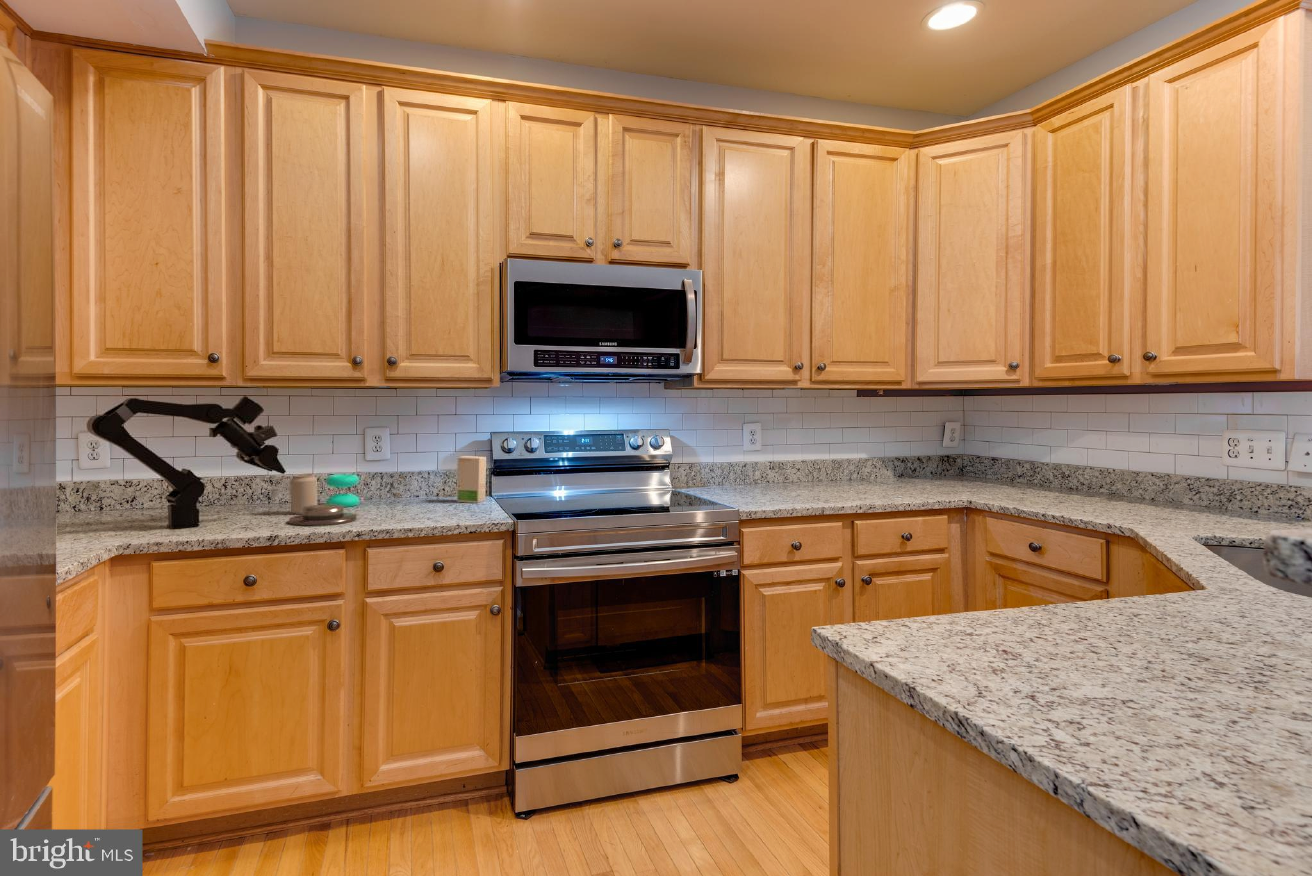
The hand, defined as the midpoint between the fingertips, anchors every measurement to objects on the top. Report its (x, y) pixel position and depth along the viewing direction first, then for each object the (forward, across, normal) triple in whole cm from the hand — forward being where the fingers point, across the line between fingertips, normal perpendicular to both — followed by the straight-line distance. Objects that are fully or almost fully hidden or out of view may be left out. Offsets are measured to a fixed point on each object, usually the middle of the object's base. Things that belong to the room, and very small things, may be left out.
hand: (278, 471), depth 225 cm
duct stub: (+13, -18, +6) cm, 23 cm away
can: (+15, 0, +4) cm, 16 cm away
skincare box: (+50, -16, -31) cm, 61 cm away
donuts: (+26, +6, -6) cm, 27 cm away
